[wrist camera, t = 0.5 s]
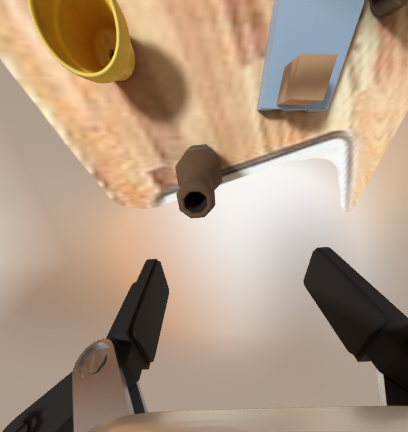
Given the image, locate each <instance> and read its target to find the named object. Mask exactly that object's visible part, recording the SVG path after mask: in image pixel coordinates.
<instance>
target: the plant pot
mask: <svg viewBox="0 0 408 432" xmlns="http://www.w3.org/2000/svg"><path fill="white" fill-rule="evenodd" d="M28 6H29V10H30V14H31V17H32V20H33V23H34V25H35V28H36V30H37V32H38V34H39V36H40V38H41V40H42V41H43V43H44V45H45V46H46V48H47V49H48V50H49V52H50V53H51V54H52V55H53V57H54V58H55V59H56V60H57V61H58V62H59V63H60V64H61V65H62V66H64V67H65V68H66V69H68V70H69V71H71V72H72V73H74V74H76V75H78V76H80V77H83V78H85V79H87V80H90V81H93V82H97V83H110V82H113V81H115V80H116V81H124V80H127V79H128V78H129V77H130V76H131V75H132V73H133V71H134V68H135V54H134V50H133V47H132V44H131V42H130V36H129V31H128V27H127V23H126V20H125V18H124V15H123V13H122V11H121V9H120V7H119V5H118V3H117V1H116V0H28ZM112 52H114V55H113V58H111V53H112Z"/></svg>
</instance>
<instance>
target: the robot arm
mask: <svg viewBox="0 0 408 432" xmlns="http://www.w3.org/2000/svg"><path fill="white" fill-rule="evenodd" d="M304 285H305V287H306V289H307V290H308V292H309V293H310V295H311V296H312V298H313V299H314V301H315V302H316V304H317V305H318V307H319V308H320V310H321V311H322V313H323V314H324V316H325V317H326V319H327V320H328V321H329V323H330V325H331V326H332V328H333V329H334V331H335V332H336V334H337V335H338V337H339V338H340V340H341V341H342V343H343V344H344V346H345V347H346V349H347V350H348V351H349V352H350V353H351V354H353V355H354V356H355V358H356V359H357V361H358V362H364V361H372V363H373V364H374V365H375V367H376V370H377V381H378V392H379V405H380V406H359V407H358V406H356V407H307V408H265V409H264V408H262V409H224V410H192V411H191V410H189V411H169V412H150V413H148V411H147V407H146V404H145V401H144V398H143V395H142V392H141V388H140V385H139V382H138V381H139V378H140V375H141V371H142V369H149V366H150V362H153V361H154V358H155V354H156V349H157V345H158V340H159V336H160V331H161V327H162V322H163V318H164V313H165V309H166V304H167V300H168V295H169V288H168V285H167V281H166V278H165V275H164V272H163V269H162V265H161V262H160V261H158V260H157V259H149V260H147V261H146V262H145V264H144V266H143V269H142V271H141V273H140V275H139V277H138V280H137V282H135V283H134V284H132V286H131V288H130V290H129V292H128V294H127V296H126V298H125V300H124V302H123V305H122V307H121V309H120V311H119V313H118V315H117V317H116V319H115V321H114V323H113V325H112V327H111V329H110V332H109V334H108V336H107V338H106V339H100V340H97V341H95V342H94V343H92V344H91V345H90V346H88V347H87V348H86V349H85V350H84V351H83V353H82V354H81V355H80V357H79V358H78V360H77V361H76V363H75V366H74V369H73V371H72V372H71V373H70V374H69V375H68V376H66V377H65V378H64V379H63V380H61V381H60V382H59V383H58V384H57V385H55V386H54V387H53V388H52V389H50V390H49V391H48V392H47V393H46V394H44V396H42V397H41V398H39V399H38V400H37V401H36V402H35V403H33V404H32V405H31V406H30V407H28V408H27V409H26V410H25V411H24V412H22V413H21V414H20V415H19V416H17V418H15V419H14V420H13V421H12V422H11V423H10V424H9V425H8V426H7V427H6V428H5V429H4V430H3V432H408V318H407V317H406V316H405V315H404V314H403V313H402V312H401V311H400V310H398V309H397V308H396V307H395V306H394V305H393V304H392V303H391V302H389V300H387V299H386V298H385V297H384V296H383V295H382V294H381V293H380V292H378V291H377V290H376V289H375V288H374V287H373V286H372V285H371V284H370V283H369V282H367V281H366V280H365V279H364V278H363V277H362V276H361V275H360V274H358V273H357V272H356V271H355V270H354V269H353V268H352V267H350V265H349V264H347V263H346V262H345V261H344V260H343V259H342V258H341V257H340V256H338V255H337V254H336V253H335V252H334V251H333V250H332V249H331V248H329V247H322V248H316V249H315V251H313V253H312V256H311V259H310V263H309V266H308V269H307V272H306V275H305V278H304Z"/></svg>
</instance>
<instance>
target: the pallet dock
mask: <svg viewBox="0 0 408 432" xmlns="http://www.w3.org/2000/svg"><path fill="white" fill-rule="evenodd" d="M364 1H365V0H274V5H273V12H272V18H271V24H270V31H269V37H268V43H267V50H266V56H265V62H264V69H263V75H262V82H261V88H260V94H259V101H258V107H257V110H259V111H270V110H272V109H280V110H281V111H291V112H293V111H297V110H305V112H321V111H326V110H328V108H329V105H330V102H331V99H332V96H333V93H334V90H335V87H336V84H337V81H338V78H339V75H340V72H341V69H342V66H343V63H344V60H345V57H346V55H347V52H348V49H349V46H350V43H351V40H352V37H353V34H354V31H355V28H356V25H357V22H358V19H359V16H360V13H361V10H362V7H363V4H364ZM301 53H310V54H338V56H337V59H336V62H335V65H334V69H333V72H332V75H331V78H330V81H329V84H328V87H327V90H326V94H325V97H324V100H323V101H319V102H316V103H312V104H309V105H306V106H290V105H277V100H278V95H279V90H280V85H281V80H282V76H283V71H284V67H286V66H287V65H288V64H289V63H290V62H291V61H293V60H294V59H295V58H296V57H297V56H299V55H300V54H301Z"/></svg>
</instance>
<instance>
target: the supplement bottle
mask: <svg viewBox="0 0 408 432" xmlns="http://www.w3.org/2000/svg"><path fill="white" fill-rule="evenodd" d="M370 3H371V8H372V10H373V12H374V13H375V14H377V15H379V16H388V15H391V14H393V13H395V12H397V11H399V10H400V9H402V8H404V7H405V6H407V5H408V0H370Z"/></svg>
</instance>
